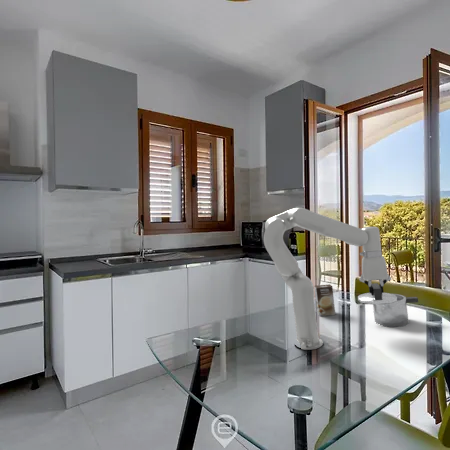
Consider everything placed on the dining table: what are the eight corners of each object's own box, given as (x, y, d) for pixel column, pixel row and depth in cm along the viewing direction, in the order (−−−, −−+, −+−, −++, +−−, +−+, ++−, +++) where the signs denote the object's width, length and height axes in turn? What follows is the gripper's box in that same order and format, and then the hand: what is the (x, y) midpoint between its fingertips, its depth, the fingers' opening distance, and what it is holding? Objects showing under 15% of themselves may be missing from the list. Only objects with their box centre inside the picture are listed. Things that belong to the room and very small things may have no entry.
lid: (400, 304, 137) (399, 289, 136) (360, 305, 141) (358, 291, 141) (393, 294, 152) (391, 281, 152) (356, 295, 157) (355, 282, 156)
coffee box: (319, 316, 182) (315, 288, 182) (317, 312, 188) (313, 285, 188) (335, 314, 181) (332, 286, 181) (333, 311, 187) (329, 283, 187)
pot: (415, 315, 165) (412, 292, 164) (424, 326, 150) (421, 300, 150) (362, 317, 172) (360, 294, 172) (366, 327, 158) (363, 303, 157)
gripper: (353, 256, 145) (358, 297, 145) (394, 254, 140) (398, 296, 141) (352, 254, 152) (356, 293, 153) (390, 251, 147) (394, 291, 148)
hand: (376, 294), depth 147 cm, fingers closed on lid, 3 cm apart
